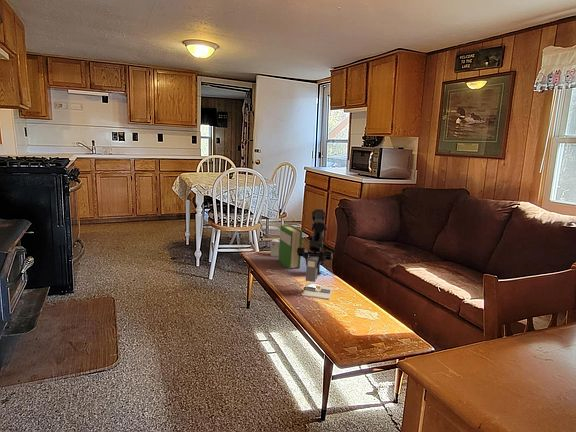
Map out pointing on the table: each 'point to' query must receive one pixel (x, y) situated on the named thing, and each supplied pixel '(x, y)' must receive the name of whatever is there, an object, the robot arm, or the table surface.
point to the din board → (318, 293)
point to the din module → (311, 268)
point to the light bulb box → (275, 247)
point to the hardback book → (289, 246)
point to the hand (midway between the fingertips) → (311, 267)
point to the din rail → (315, 289)
